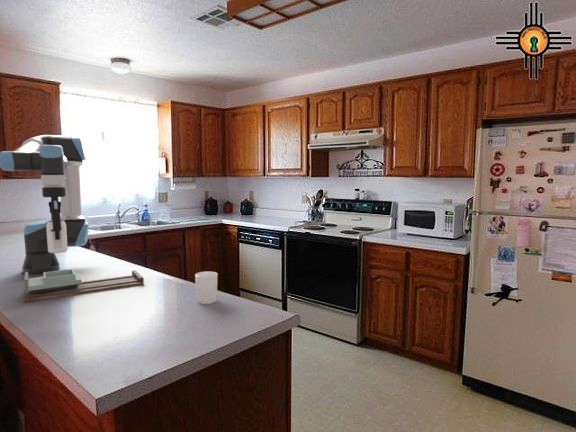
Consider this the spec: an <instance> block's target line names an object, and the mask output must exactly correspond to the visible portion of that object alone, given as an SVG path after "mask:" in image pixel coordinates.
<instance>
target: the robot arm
mask: <svg viewBox="0 0 576 432" xmlns="http://www.w3.org/2000/svg"><path fill="white" fill-rule="evenodd" d="M85 160H87V157H86V152H85V146H84V143H83V139H82V137H80V136H78V135H63V134H62V135H59V134H55V135H54V134H42V135H36V136H32V137H30V138H28V139H25V141H23V142H22V144H21V146H20V147H17V148H16V149H15V150H11V151H10V150H6V151H5V150H4V151H3V150H2V151H1V152H0V169H1V170H2V171H5V172H6V171H7V172H40V173H41V174H40V179H41V180H40V181H41V186H43V187H42V188H41V191H42V198H50V201H48V207H49V213H50V215H51V216H50V217H51V220H52V221H53V230H51V232H52V231H53V244H54V249H56V248H62V236H61V220H64V222H65V224H66V232H67V248H70V247H71V248H72V247H75V248H76V247H81V246H82V247H83V246H85V245H87V242H88V237H89V235H88V234H89V225H90V224H89V222H88V221H86V218H85V217H84V216H83V215H82V200H81V196H82V195H81V181H80V179H81V177H80V174H81V173H80V167H81V166H82V165H83V161H85ZM59 198H60V201H59ZM47 221H48V220H44V221H43V220H42V221H36V222H32V223H28V224H26V225H24V227H23V236H24V237H23V239H24V251H25V257H24V259H23V264H22V267H21V270H22V271H21V272H22V274H25V272H28V275H37V274H43V272H51V271H59V270H61V269H60V268H61V267H60V262H59V260H58V258H57V255H56V253H49V252H48V243H47V228H46V225H47V223H48V222H47Z"/></svg>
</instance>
